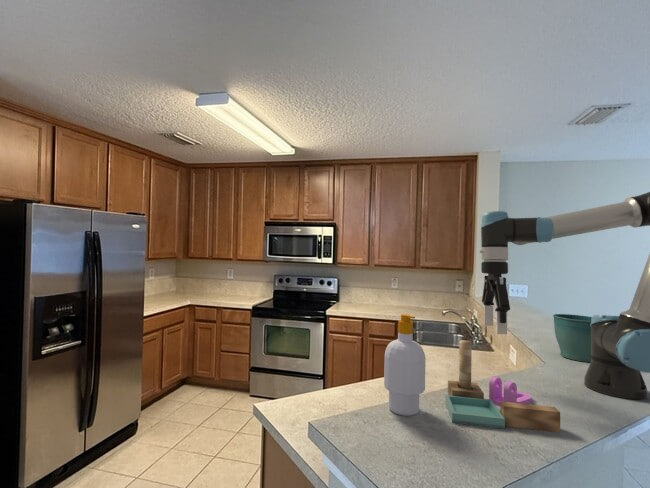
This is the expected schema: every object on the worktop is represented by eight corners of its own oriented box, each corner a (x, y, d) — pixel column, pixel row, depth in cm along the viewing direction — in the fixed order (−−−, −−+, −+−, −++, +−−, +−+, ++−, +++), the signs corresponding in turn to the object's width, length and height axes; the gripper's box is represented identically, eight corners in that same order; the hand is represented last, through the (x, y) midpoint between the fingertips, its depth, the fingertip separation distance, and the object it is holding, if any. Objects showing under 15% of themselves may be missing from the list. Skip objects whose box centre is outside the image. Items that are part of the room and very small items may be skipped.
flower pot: (603, 357, 148) (603, 317, 149) (609, 367, 133) (609, 322, 134) (552, 350, 158) (552, 312, 159) (553, 359, 143) (553, 317, 144)
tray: (491, 408, 92) (491, 399, 92) (504, 428, 81) (504, 419, 81) (445, 403, 95) (445, 394, 95) (452, 422, 83) (452, 413, 83)
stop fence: (554, 426, 83) (554, 406, 83) (560, 432, 80) (560, 412, 80) (500, 420, 85) (500, 401, 86) (503, 425, 82) (503, 406, 83)
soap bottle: (401, 422, 82) (403, 319, 84) (375, 405, 92) (377, 312, 93) (433, 414, 87) (435, 317, 88) (405, 399, 96) (407, 311, 97)
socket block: (476, 395, 101) (476, 383, 101) (483, 406, 93) (483, 393, 93) (447, 392, 103) (447, 380, 103) (452, 403, 95) (452, 390, 95)
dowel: (469, 397, 99) (470, 340, 100) (472, 402, 96) (472, 343, 97) (457, 396, 100) (458, 339, 100) (459, 400, 97) (460, 342, 97)
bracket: (508, 410, 91) (508, 383, 92) (489, 402, 96) (489, 377, 97) (535, 401, 98) (535, 376, 98) (516, 394, 103) (516, 370, 103)
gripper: (472, 260, 122) (472, 322, 121) (493, 260, 98) (493, 337, 97) (495, 261, 121) (495, 323, 120) (522, 261, 97) (523, 338, 96)
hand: (494, 329), depth 109 cm, fingers open, 13 cm apart
